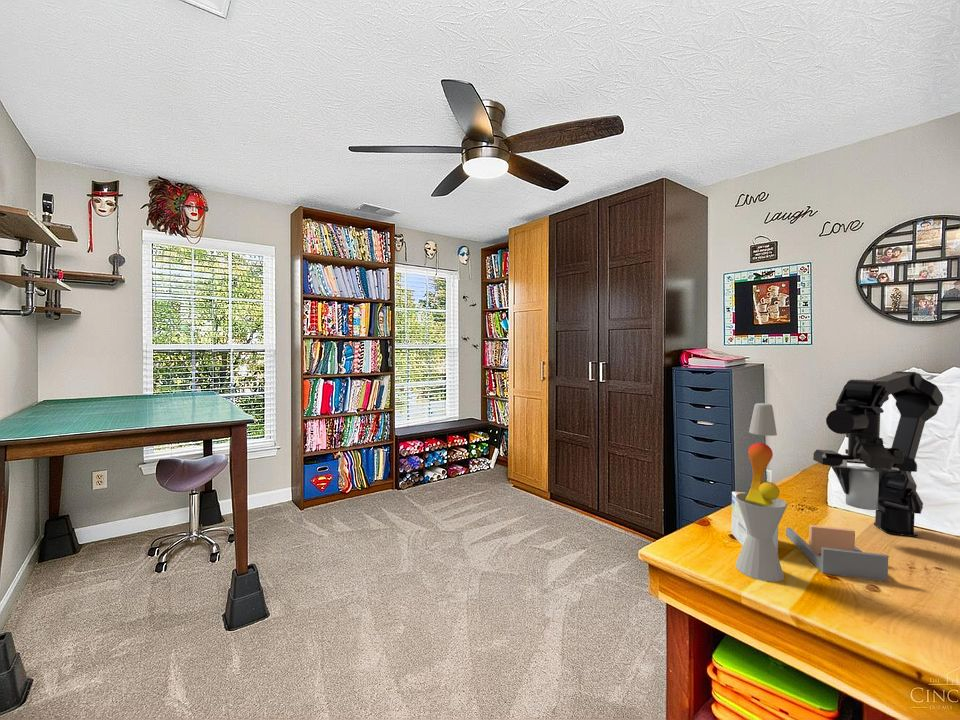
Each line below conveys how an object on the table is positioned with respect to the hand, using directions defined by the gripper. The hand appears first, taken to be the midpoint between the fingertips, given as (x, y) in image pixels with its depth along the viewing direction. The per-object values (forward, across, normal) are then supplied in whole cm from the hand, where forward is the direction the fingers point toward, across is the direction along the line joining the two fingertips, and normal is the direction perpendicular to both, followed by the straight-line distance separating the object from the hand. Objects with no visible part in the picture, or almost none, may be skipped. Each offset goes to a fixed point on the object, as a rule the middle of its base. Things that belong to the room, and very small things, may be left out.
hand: (861, 495), depth 108 cm
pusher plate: (+11, -11, -12) cm, 20 cm away
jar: (+3, 0, 0) cm, 3 cm away
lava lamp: (+12, -29, -25) cm, 40 cm away
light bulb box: (+12, -26, -10) cm, 30 cm away
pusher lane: (+11, -11, -12) cm, 20 cm away
